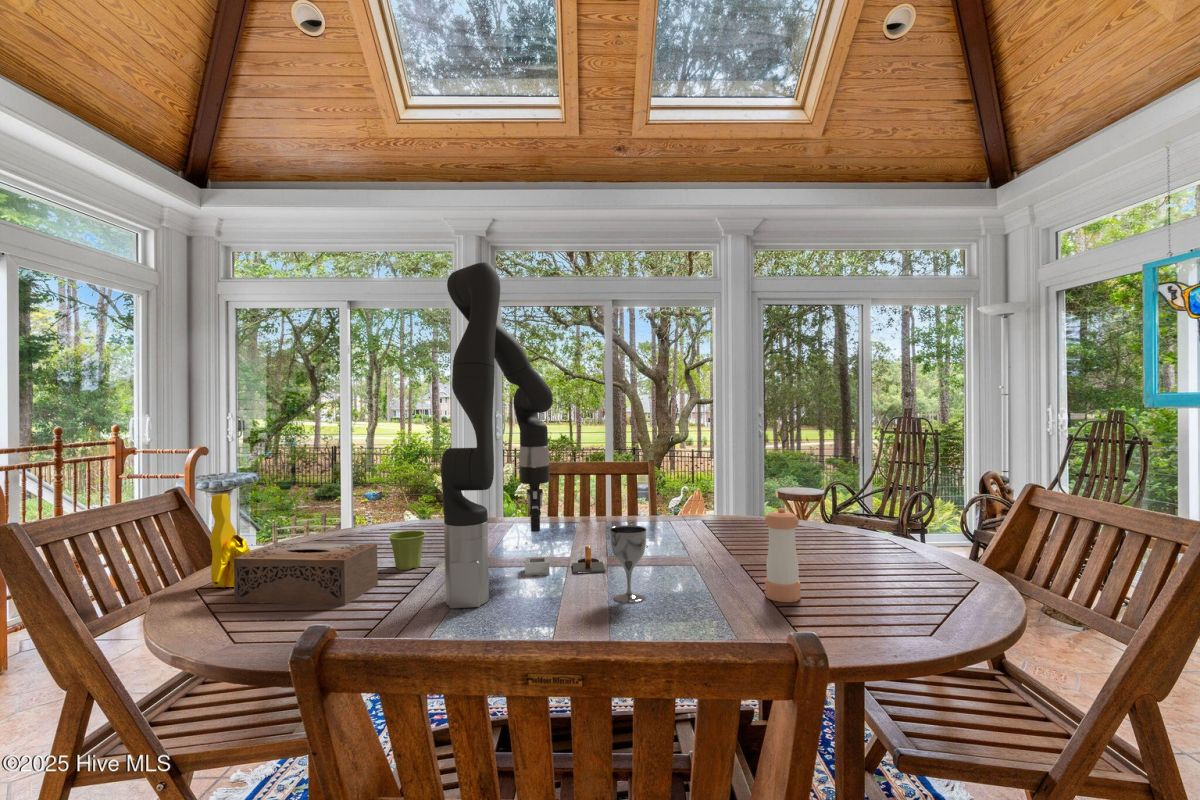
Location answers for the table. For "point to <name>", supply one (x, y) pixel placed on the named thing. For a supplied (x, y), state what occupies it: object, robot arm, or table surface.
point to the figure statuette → (224, 543)
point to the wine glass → (628, 556)
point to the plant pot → (407, 548)
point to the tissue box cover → (306, 573)
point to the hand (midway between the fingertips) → (535, 527)
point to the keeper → (588, 564)
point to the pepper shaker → (782, 557)
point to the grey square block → (537, 566)
